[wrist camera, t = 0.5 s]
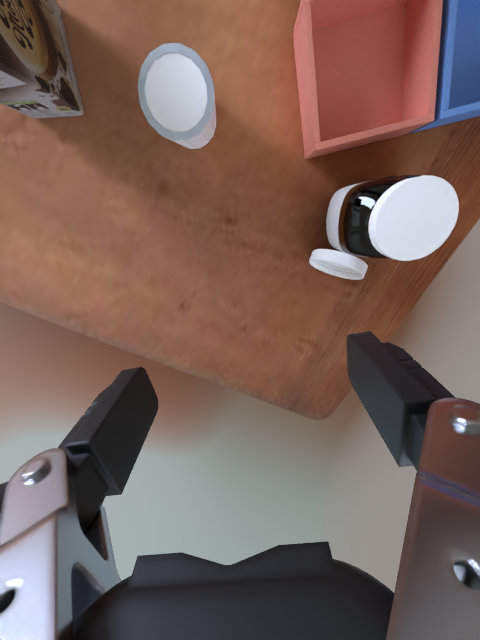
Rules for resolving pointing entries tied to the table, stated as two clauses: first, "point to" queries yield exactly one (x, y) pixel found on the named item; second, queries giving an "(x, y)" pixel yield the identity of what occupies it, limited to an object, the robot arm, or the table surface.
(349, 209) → the spread jar
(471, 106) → the blue bin
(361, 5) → the red bin
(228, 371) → the table surface
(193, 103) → the shot glass
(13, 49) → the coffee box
